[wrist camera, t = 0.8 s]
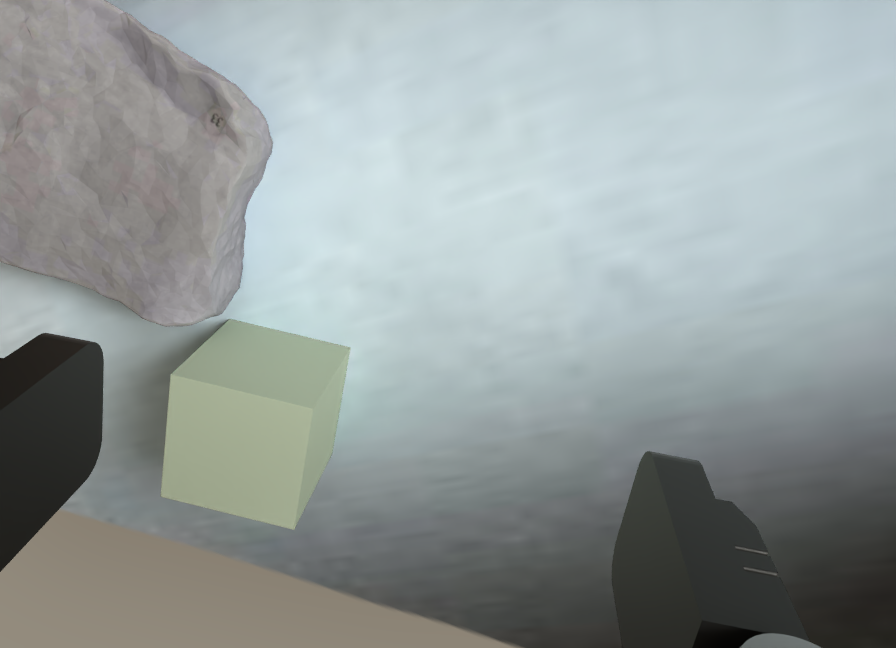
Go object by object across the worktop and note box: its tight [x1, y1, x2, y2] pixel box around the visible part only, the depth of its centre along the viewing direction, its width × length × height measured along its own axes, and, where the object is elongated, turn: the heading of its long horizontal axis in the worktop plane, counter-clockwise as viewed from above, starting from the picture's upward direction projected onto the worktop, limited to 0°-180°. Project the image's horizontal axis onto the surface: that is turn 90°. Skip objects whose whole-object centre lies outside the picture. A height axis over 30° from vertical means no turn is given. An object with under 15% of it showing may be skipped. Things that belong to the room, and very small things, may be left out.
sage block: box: [161, 319, 350, 530], centre depth 31 cm, size 5×5×6 cm
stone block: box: [0, 0, 273, 326], centre depth 30 cm, size 12×5×10 cm
